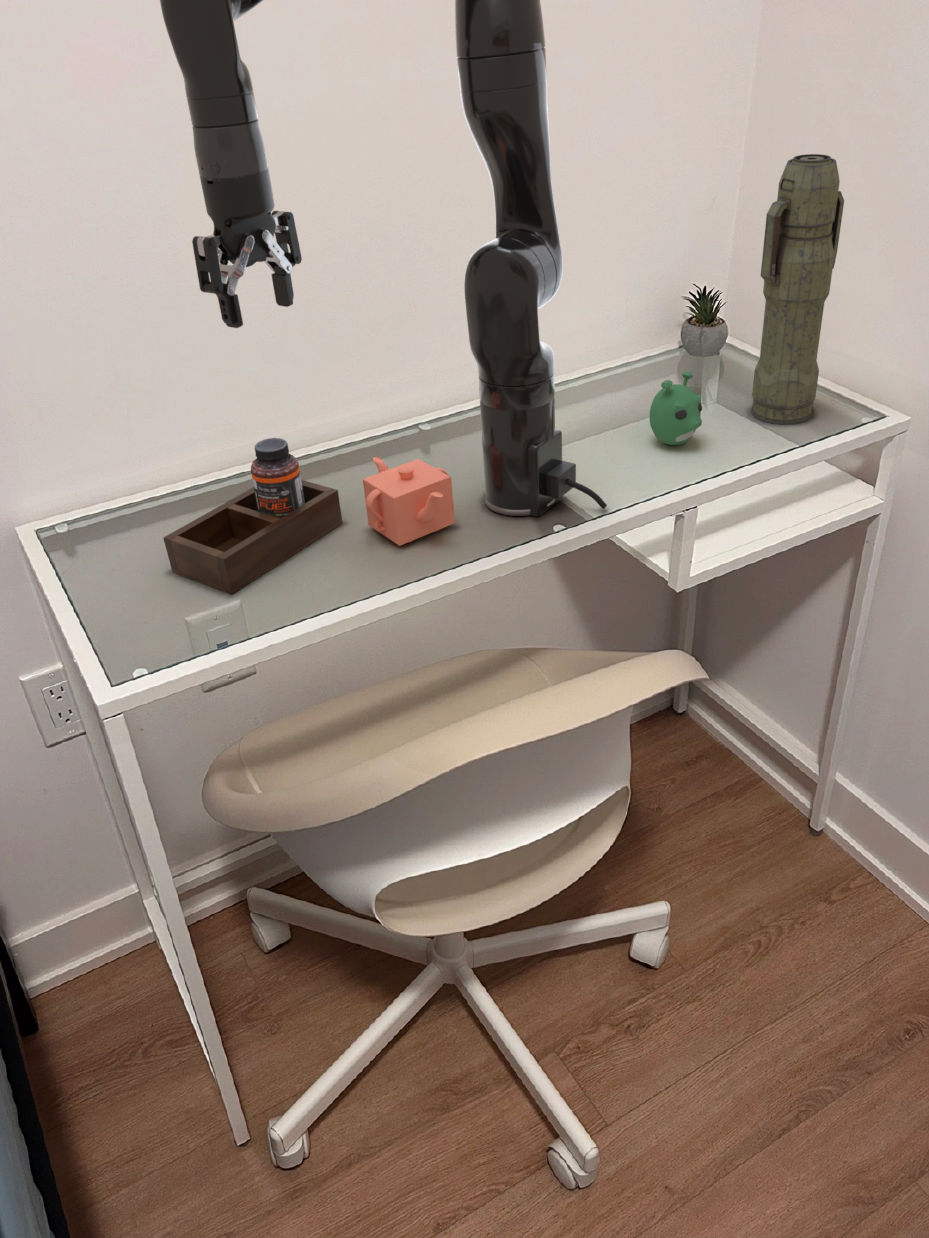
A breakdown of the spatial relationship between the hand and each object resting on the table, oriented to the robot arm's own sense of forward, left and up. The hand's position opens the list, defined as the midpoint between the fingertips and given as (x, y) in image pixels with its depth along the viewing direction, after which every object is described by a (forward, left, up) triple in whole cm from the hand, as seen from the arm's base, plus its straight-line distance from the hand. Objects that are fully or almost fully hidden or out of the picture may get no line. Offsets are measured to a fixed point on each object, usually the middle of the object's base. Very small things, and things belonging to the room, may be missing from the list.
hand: (260, 316), depth 119 cm
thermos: (-44, -59, -26) cm, 78 cm away
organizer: (-3, +9, -26) cm, 28 cm away
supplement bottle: (-3, +5, -25) cm, 26 cm away
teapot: (-17, -4, -26) cm, 31 cm away
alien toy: (-35, -42, -26) cm, 60 cm away
